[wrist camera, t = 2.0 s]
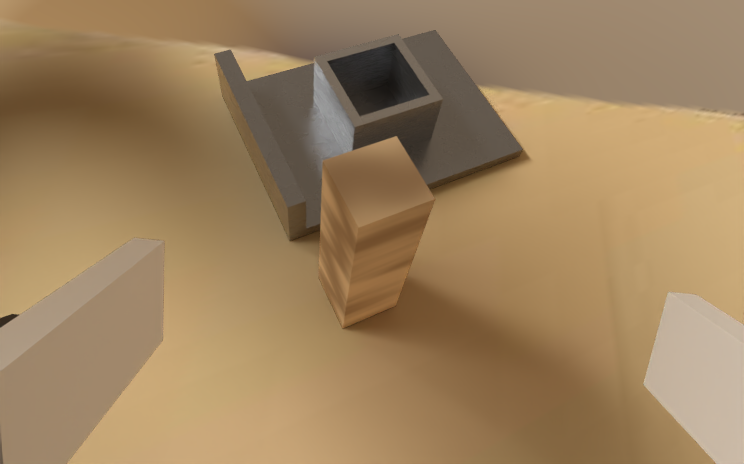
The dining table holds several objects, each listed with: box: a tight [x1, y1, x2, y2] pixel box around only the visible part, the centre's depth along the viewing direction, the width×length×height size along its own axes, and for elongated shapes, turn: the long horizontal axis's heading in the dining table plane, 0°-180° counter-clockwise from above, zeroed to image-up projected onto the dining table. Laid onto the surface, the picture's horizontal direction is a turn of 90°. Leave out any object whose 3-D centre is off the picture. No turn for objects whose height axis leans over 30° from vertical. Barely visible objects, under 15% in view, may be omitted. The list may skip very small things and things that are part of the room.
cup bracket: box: [214, 30, 523, 241], centre depth 47 cm, size 16×22×6 cm
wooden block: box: [319, 136, 435, 328], centre depth 35 cm, size 4×4×15 cm
